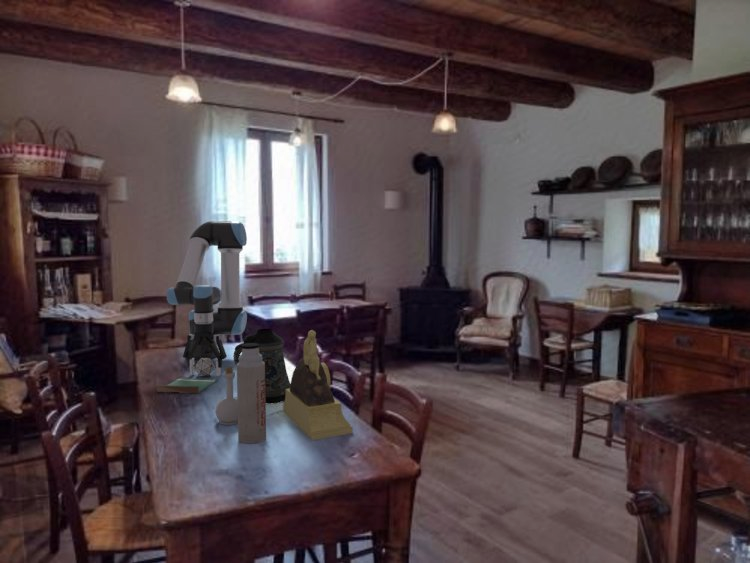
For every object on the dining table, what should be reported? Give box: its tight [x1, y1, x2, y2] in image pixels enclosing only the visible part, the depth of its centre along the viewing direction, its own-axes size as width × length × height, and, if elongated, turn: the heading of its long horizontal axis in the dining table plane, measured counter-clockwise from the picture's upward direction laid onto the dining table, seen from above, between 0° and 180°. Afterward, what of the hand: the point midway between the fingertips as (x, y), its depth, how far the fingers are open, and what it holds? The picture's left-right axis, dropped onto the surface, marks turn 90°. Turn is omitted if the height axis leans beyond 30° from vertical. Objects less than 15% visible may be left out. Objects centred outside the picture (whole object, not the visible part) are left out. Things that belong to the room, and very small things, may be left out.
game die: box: [193, 356, 216, 378], centre depth 231 cm, size 9×8×10 cm
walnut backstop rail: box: [156, 384, 200, 395], centre depth 208 cm, size 1×16×2 cm, turn 82°
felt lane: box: [168, 377, 218, 393], centre depth 217 cm, size 17×16×1 cm
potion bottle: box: [214, 366, 238, 426], centre depth 176 cm, size 9×9×18 cm
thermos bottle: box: [236, 343, 267, 444], centre depth 161 cm, size 8×8×28 cm
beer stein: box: [233, 328, 291, 405], centre depth 200 cm, size 16×19×25 cm
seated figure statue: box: [282, 329, 354, 441], centre depth 175 cm, size 28×13×30 cm, turn 26°
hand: (205, 374), depth 232 cm, fingers open, 11 cm apart
